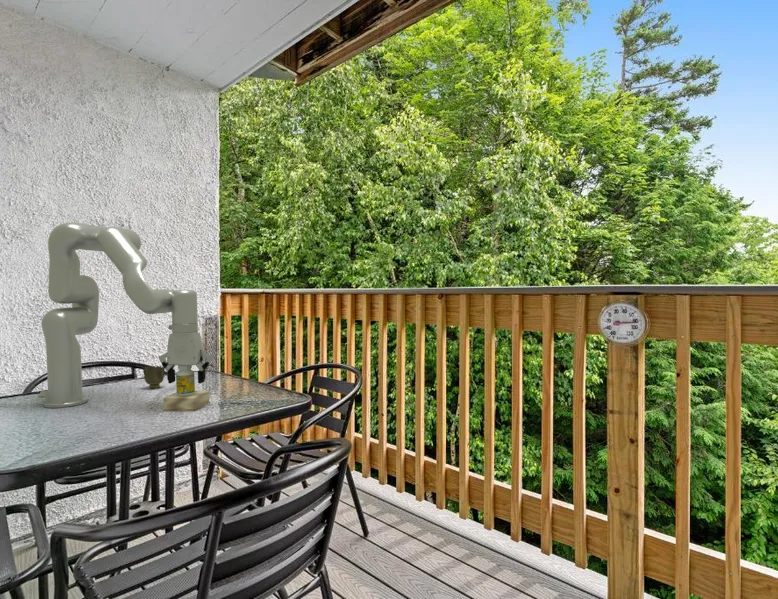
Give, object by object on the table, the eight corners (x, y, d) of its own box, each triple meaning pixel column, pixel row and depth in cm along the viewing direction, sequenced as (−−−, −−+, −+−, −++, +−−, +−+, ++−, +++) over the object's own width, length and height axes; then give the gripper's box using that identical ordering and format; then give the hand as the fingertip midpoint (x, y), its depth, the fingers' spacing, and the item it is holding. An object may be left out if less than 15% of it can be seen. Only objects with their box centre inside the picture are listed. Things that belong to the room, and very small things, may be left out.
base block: (162, 411, 154) (162, 398, 154) (179, 402, 164) (179, 390, 164) (195, 411, 153) (195, 398, 153) (210, 403, 163) (209, 390, 163)
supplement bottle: (198, 393, 160) (197, 363, 160) (187, 396, 155) (186, 366, 155) (184, 392, 162) (183, 362, 162) (172, 395, 157) (172, 365, 156)
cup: (159, 390, 184) (159, 368, 183) (139, 390, 184) (139, 368, 184) (168, 386, 191) (168, 365, 191) (149, 386, 191) (149, 365, 191)
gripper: (152, 330, 155) (153, 385, 155) (206, 330, 153) (207, 385, 154) (164, 327, 162) (166, 380, 163) (216, 327, 161) (217, 380, 161)
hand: (186, 382), depth 158 cm, fingers open, 9 cm apart
